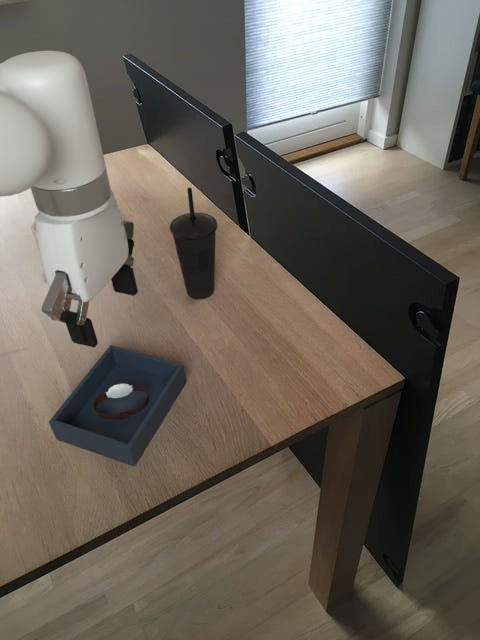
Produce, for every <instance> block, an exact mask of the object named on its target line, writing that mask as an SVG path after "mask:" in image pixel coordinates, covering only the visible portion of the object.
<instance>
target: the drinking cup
mask: <svg viewBox="0 0 480 640" xmlns="http://www.w3.org/2000/svg"><path fill="white" fill-rule="evenodd" d="M186 191H187V198H188V207H189V212H188V213H183V214H180V215H178V216H176V217H175V218H174V219H172V221H171V222H170V224H169V231H170V233H171V235H172V238H173V242H174V245H175V249H176V253H177V258H178V261H179V262H178V263H179V266H180V269H181V270H180V271H181V274H182V277H183V282H184V286H185V290H186V294H187V296H188V297H189V298H191V299H193V300H206V299H208V298H210V297H211V296H212V295H213V294H214V292H215V274H216V273H215V271H216V270H215V269H216V236H217V235H216V233H217V229H218V221H217V220H216V218H215V217H214V216H212V215H211V214H208V213H205V212H196V211H195V206H194V197H193V196H194V195H193V189H192V187H187V188H186Z"/></svg>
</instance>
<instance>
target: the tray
mask: <svg viewBox="0 0 480 640" xmlns="http://www.w3.org/2000/svg"><path fill="white" fill-rule="evenodd" d="M184 365H185V364H182V363H179V362H176V361H172V360H167V359H164V358H160V357H157V356H154V355H153V356H152V355H149V354H146V353H142V352H138V351H134V350H131V349H127V348H124V347H120V346H116V345H113V344H110V345H109V346H108V348H106V349H105V351H104V352H103V353H102V355H101V356H100V357H99V358H98V359H97V361H96V362H95V363H94V365H93V366H92V367H91V368H90V369H89V371H88V372H87V373H86V375H85V376H84V377H83V379H81V381H80V382H79V383H78V385H77V386H76V387H75V388H74V389H73V390H72V392H71V393H70V394H69V396H68V397H67V398H66V400H65V401H64V402H63V403H62V405H61V406H60V407H59V408H58V409H57V411H56V412H55V413H54V414H53V416H52V417H51V419H49V421H48V424H49V426H50V428H51V430H52V432H53V435H54V437H55V440H57V441H60V442H63V443H65V444H68V445H71V446H73V447H77V448H80V449H82V450H85V451H88V452H91V453H94V454H97V455H99V456H103V457H105V458H109V459H112V460H114V461H117V462H120V463H124V464H126V465H129V466H132V467H136V465H137V464H138V462H139V460H140V459H141V457H142V456H143V454H144V452H145V451H146V449H147V448H148V446H149V445H150V443H151V441H152V439H153V437H154V436H155V434H156V433H157V431H158V430H159V428H160V427H161V425H162V423H163V422H164V420H165V418H166V417H167V415H168V413H170V410H171V409H172V407H173V405H174V404H175V401H176V400H177V399H178V397H179V396H180V394H181V392H182V391H183V389H184V387H185V386H186V384H187V379H186V372H185V366H184ZM117 384H129V385H130V386H131V385H132V386H133V385H142V386H145V387H146V388H147V389H148V392H149V402H148V404H147V406H146V407H145V408H144V409H143V410H142V411H140V412H139V413H137V414H135V415H131V416H130V417H129V418H125V419H121V420H120V419H118V420H108V419H103V418H101V417H100V416H98V414H97V413H96V411H95V409H94V408H93V401H94V399H95V398H96V397H97V396H99V395H100V394H103V393H106V392H108V390H109V389H110V388H111V387H113V386H114V385H117ZM147 396H148V395H147V394H146V393H145V392H142V391H132V392H131V393H129V394H128V395H126V396H124V397H121V398H111V397H109V398H106V399H104V400H102V401H101V402H100V403H99V404H98V405H97V408H96V410H97V411H98V412H100V413H102V414H111V415H113V414H115V413H121V412H126V411H129V410H132V409H135V408H137V407H138V406H140V405H141V404H142V403H143V402H144V401H145V400H146V398H147Z"/></svg>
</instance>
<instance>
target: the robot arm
mask: <svg viewBox="0 0 480 640" xmlns="http://www.w3.org/2000/svg"><path fill="white" fill-rule="evenodd" d="M84 69H85V68H84V66H83V65H82V64H81V62H80V60H79V59H77V58H76V56H73V55H72V54H70V53H69V52H64V51H58V50H37V51H30V52H25V53H21V54H17V55H15V56H14V55H13V56H12V57H10V58H8V59H6V60H4V61H3V62H0V197H11V196H15V195H18V194H22V193H24V192H26V191H28V190H30V191H31V193H32V197H33V199H34V203H35V206H36V209H37V211H38V213H37V214H36V215H35V216H34V221H35V227H36V236H37V242H38V247H37V249H38V248H39V250H38V253H39V256H40V261H41V264H42V268H43V269H42V270H43V272H44V276H45V279H46V282H47V285H48V288H49V289H48V292H47V294H46V295H45V297H44V300H43V302H42V305H41V312H42V313H44V314H45V315H46V316H47V317H49V318H50V319H51V320H52V321H55V322H60V323H64V324H65V325H66V329H67V331H68V334H69V337H70V340H71V341H72V342H73V343H74V344H77V345H79V346H80V345H82V346H86V347H90V348H96V347H97V345H98V344H99V343H98V338H97V335H96V331H95V328H94V324H93V322H92V319H91V318H89V317H88V310H89V305H90V301H91V300H93V299H94V298H96V297H97V296H98V294H100V292H101V291H102V290H103V289H104V288H105V287H106V286H107V284H108V283H109V282H110V281H111V285H112V289H113V291H114V292H116V293H119V294H123V295H124V294H125V295H129V296H136V295H137V294H138V293H139V289H138V285H137V281H136V276H135V270H134V267H133V266H134V265H135V257H134V256H132V255H133V251H134V247H135V240H134V229H135V224H134V222H133V221H129V220H128V221H127V220H123V217H122V214H121V211H120V208H119V205H118V202H117V200H116V197H115V195H114V191H113V190H112V188H111V184H110V179H109V175H108V170H107V166H106V160H105V156H104V152H103V147H102V143H101V138H100V134H99V129H98V125H97V119H96V116H95V110H94V107H93V106H94V105H93V102H92V97H91V94H90V88H89V83H88V80H87V76H86V72H85V70H84ZM73 291H74V292H73ZM72 300H74V301H78V304H77V309H76V311H72V310H71V306H72Z"/></svg>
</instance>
